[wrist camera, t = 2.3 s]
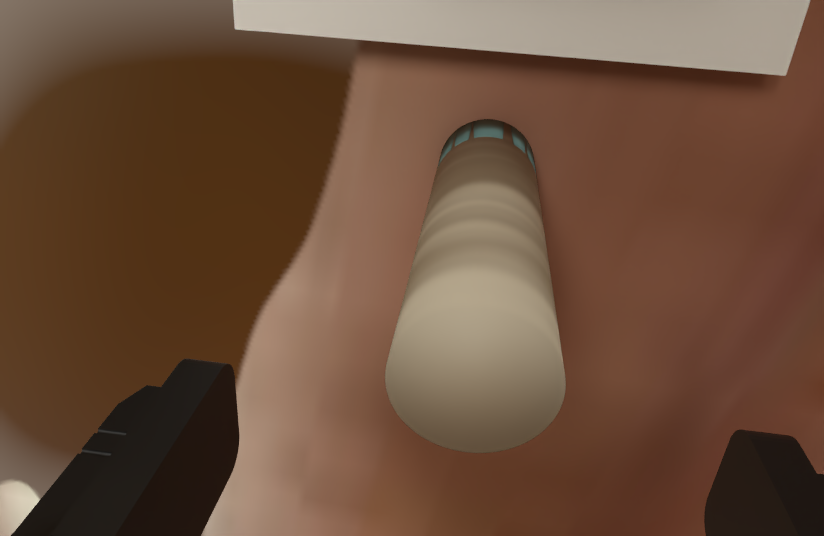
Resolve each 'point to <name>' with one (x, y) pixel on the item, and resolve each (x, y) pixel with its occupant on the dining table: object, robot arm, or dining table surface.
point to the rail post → (479, 303)
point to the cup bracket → (558, 27)
